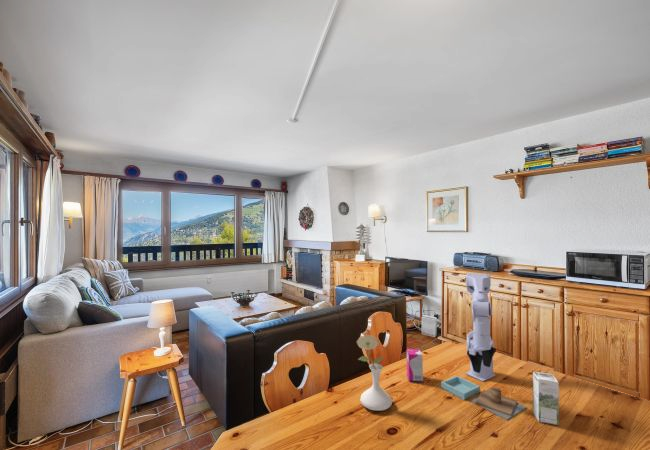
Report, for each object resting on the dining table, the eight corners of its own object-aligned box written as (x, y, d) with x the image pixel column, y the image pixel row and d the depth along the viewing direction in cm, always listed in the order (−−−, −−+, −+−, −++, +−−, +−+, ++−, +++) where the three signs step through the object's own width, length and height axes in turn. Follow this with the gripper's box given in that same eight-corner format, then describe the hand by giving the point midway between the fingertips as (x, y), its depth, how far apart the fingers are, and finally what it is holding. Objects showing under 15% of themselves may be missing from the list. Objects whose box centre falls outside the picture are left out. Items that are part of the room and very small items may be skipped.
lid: (483, 391, 117) (483, 379, 117) (516, 402, 110) (516, 389, 110) (475, 403, 109) (475, 390, 109) (510, 416, 102) (510, 402, 102)
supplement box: (420, 375, 131) (419, 349, 131) (423, 382, 125) (423, 354, 125) (406, 375, 131) (406, 348, 131) (408, 381, 125) (408, 354, 125)
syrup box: (552, 415, 102) (551, 373, 103) (559, 426, 97) (559, 381, 97) (532, 412, 104) (532, 370, 104) (538, 422, 99) (538, 378, 99)
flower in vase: (395, 400, 112) (394, 332, 112) (388, 417, 101) (387, 343, 102) (361, 392, 117) (361, 328, 118) (351, 408, 107) (351, 337, 107)
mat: (490, 391, 118) (490, 390, 118) (526, 407, 107) (526, 406, 107) (470, 401, 111) (470, 400, 111) (507, 420, 100) (507, 419, 100)
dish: (456, 381, 125) (456, 375, 125) (479, 392, 117) (479, 386, 117) (441, 388, 120) (441, 382, 120) (464, 400, 112) (464, 393, 112)
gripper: (480, 326, 122) (481, 360, 122) (461, 334, 114) (461, 370, 114) (499, 331, 116) (499, 366, 116) (479, 339, 108) (480, 377, 108)
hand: (481, 368), depth 115 cm, fingers open, 7 cm apart
